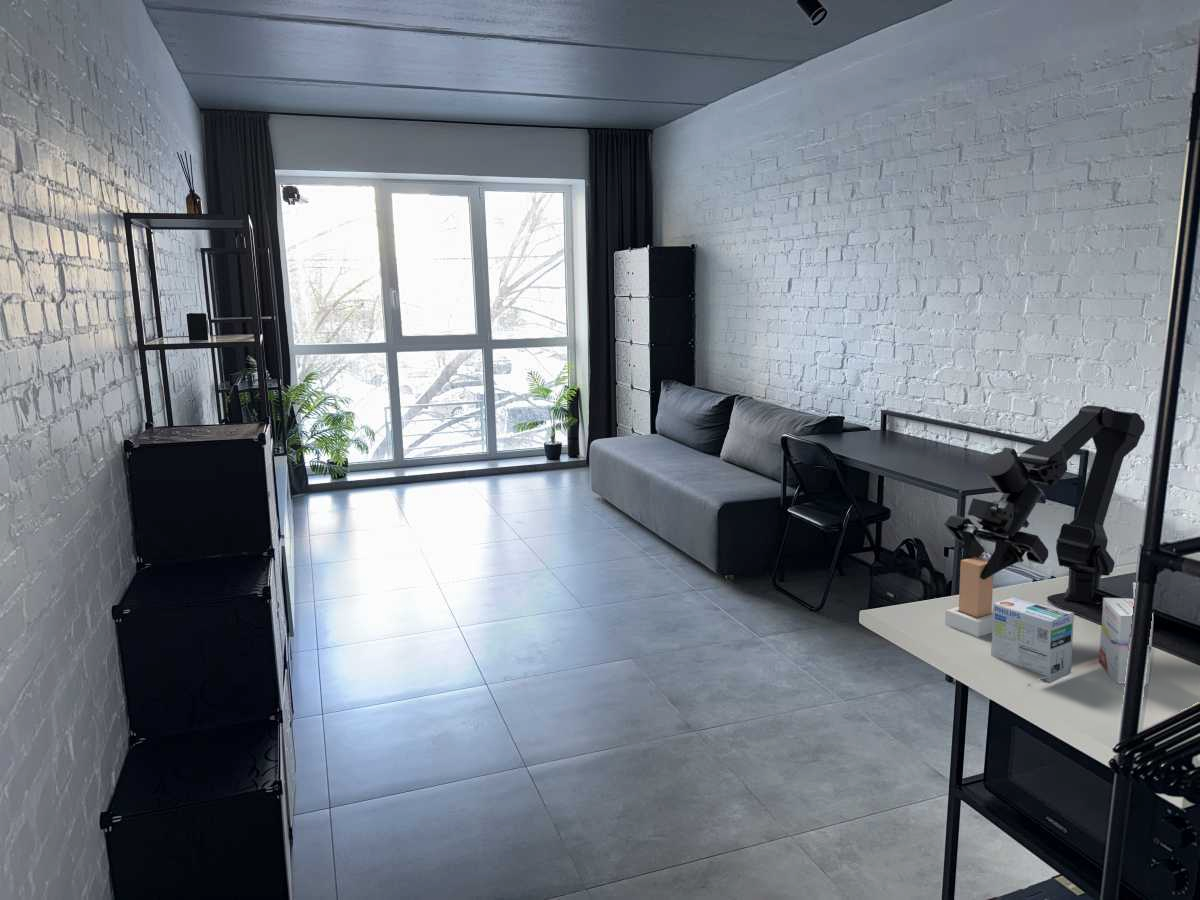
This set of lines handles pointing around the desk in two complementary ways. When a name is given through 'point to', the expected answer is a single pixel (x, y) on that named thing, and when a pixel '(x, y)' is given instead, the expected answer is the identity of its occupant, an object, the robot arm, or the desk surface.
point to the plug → (975, 588)
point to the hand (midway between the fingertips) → (971, 575)
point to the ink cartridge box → (1118, 636)
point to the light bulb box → (1033, 636)
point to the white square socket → (969, 622)
